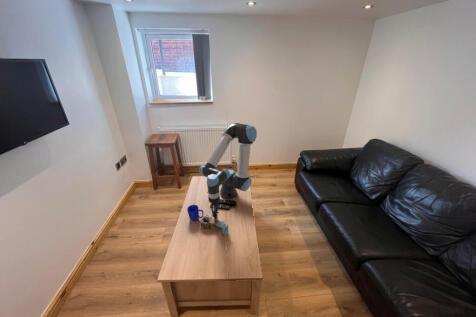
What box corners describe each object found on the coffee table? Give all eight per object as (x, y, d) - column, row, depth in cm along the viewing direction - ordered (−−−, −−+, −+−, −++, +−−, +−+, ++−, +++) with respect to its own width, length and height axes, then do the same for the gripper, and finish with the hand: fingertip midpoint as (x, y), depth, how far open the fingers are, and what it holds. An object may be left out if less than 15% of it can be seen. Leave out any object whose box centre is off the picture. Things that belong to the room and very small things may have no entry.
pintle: (207, 223, 143) (206, 214, 139) (209, 224, 142) (208, 216, 138) (205, 224, 141) (204, 216, 138) (207, 225, 140) (206, 217, 137)
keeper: (219, 228, 138) (218, 220, 135) (228, 232, 135) (228, 225, 131) (216, 231, 136) (215, 223, 132) (225, 236, 132) (225, 228, 129)
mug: (202, 223, 142) (200, 213, 138) (187, 221, 145) (185, 211, 140) (206, 215, 149) (204, 206, 145) (191, 213, 152) (189, 203, 147)
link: (225, 225, 141) (224, 220, 139) (222, 231, 135) (221, 226, 133) (204, 221, 145) (203, 216, 142) (200, 227, 139) (200, 222, 137)
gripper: (210, 189, 135) (212, 214, 146) (206, 202, 123) (209, 227, 135) (220, 189, 134) (222, 214, 146) (218, 202, 123) (220, 228, 135)
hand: (216, 220), depth 140 cm, fingers closed
